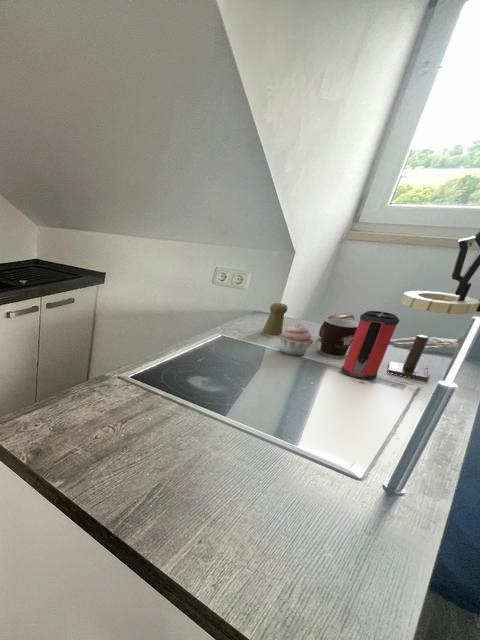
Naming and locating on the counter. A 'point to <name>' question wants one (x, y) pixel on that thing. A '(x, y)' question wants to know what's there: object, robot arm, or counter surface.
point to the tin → (337, 316)
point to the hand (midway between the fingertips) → (467, 309)
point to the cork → (275, 319)
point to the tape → (439, 302)
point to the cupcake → (295, 340)
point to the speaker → (369, 344)
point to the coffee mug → (337, 336)
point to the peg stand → (412, 362)
